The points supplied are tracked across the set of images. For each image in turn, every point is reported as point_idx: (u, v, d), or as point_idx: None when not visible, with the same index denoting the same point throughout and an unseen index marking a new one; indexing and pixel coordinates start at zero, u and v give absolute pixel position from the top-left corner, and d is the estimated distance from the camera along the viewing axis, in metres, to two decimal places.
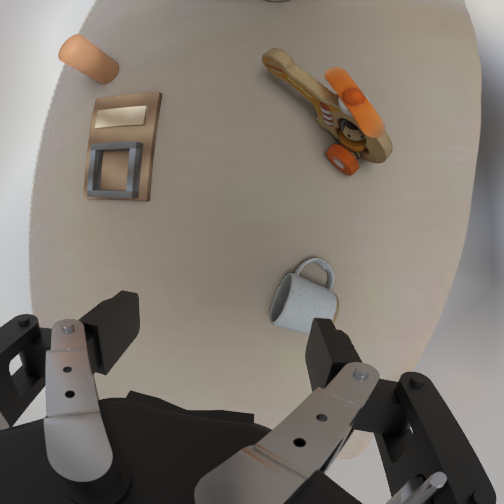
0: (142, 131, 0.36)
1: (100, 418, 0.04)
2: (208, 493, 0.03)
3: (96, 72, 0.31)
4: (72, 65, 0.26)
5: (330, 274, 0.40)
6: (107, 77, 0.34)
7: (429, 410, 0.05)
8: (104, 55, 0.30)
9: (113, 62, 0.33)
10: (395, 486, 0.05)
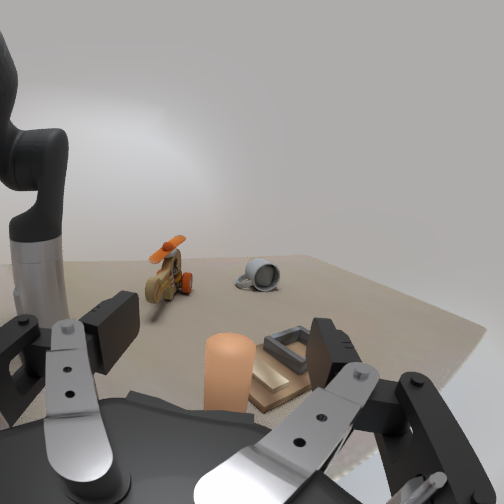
0: None
1: (100, 418, 0.04)
2: (208, 493, 0.03)
3: None
4: None
5: (239, 279, 0.75)
6: None
7: (429, 410, 0.05)
8: None
9: None
10: (395, 486, 0.05)
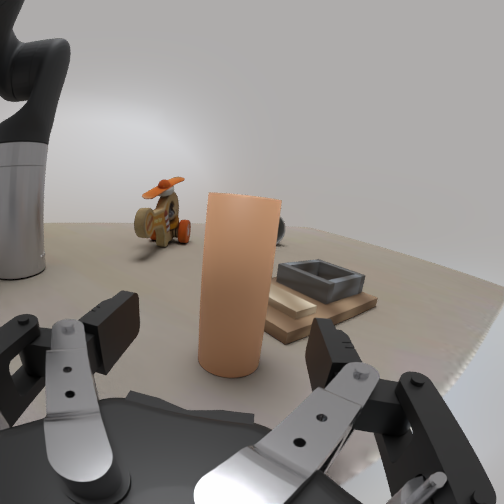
0: None
1: (100, 418, 0.04)
2: (208, 493, 0.03)
3: None
4: None
5: None
6: None
7: (429, 410, 0.05)
8: None
9: None
10: (395, 486, 0.05)
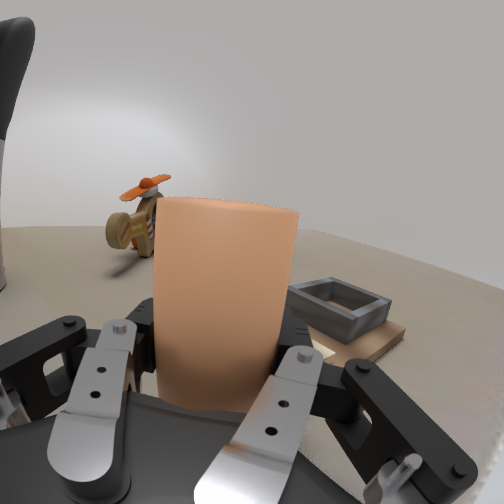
0: None
1: (113, 425, 0.04)
2: (208, 493, 0.03)
3: None
4: None
5: None
6: None
7: (383, 395, 0.06)
8: None
9: None
10: (365, 472, 0.05)
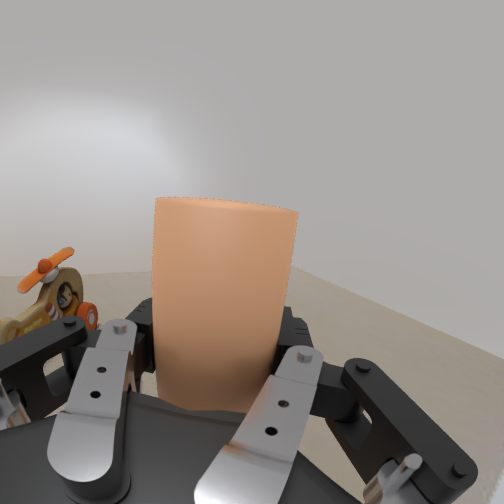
0: None
1: (114, 425, 0.04)
2: (208, 493, 0.03)
3: None
4: None
5: None
6: None
7: (383, 395, 0.06)
8: None
9: None
10: (365, 471, 0.05)
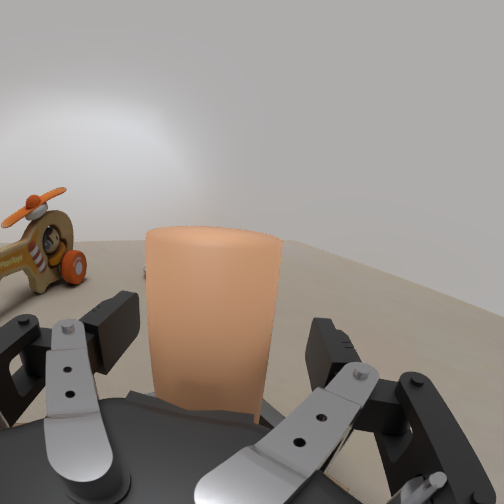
0: None
1: (100, 418, 0.04)
2: (208, 493, 0.03)
3: None
4: None
5: None
6: None
7: (429, 410, 0.05)
8: None
9: None
10: (395, 486, 0.05)
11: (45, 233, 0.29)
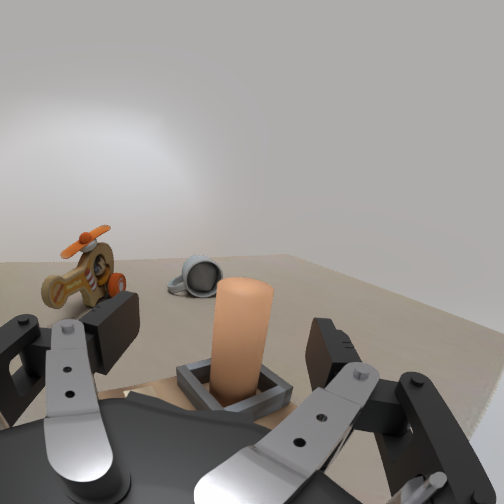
0: (161, 391, 0.24)
1: (100, 418, 0.04)
2: (208, 493, 0.03)
3: None
4: None
5: (173, 281, 0.57)
6: None
7: (429, 410, 0.05)
8: None
9: None
10: (395, 486, 0.05)
11: (95, 261, 0.43)
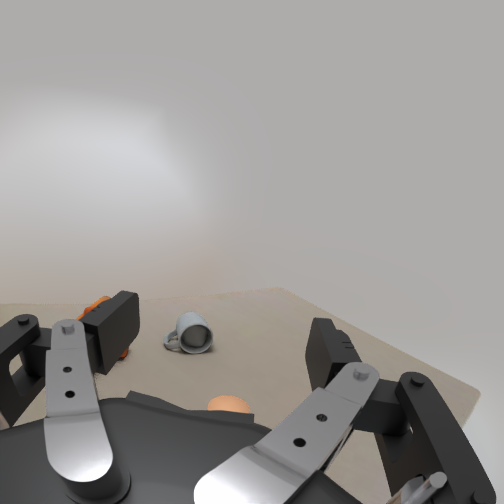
0: None
1: (100, 418, 0.04)
2: (208, 493, 0.03)
3: None
4: None
5: (168, 335, 0.61)
6: None
7: (429, 410, 0.05)
8: None
9: None
10: (395, 486, 0.05)
11: None
